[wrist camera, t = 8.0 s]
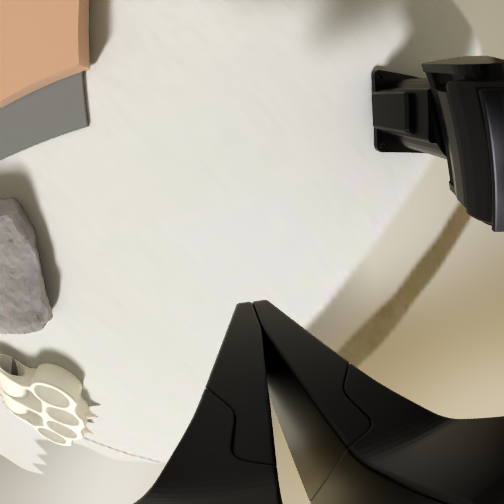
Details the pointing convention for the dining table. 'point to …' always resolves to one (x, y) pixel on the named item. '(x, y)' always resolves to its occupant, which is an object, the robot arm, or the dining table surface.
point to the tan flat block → (41, 44)
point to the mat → (43, 115)
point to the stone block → (20, 274)
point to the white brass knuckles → (46, 400)
